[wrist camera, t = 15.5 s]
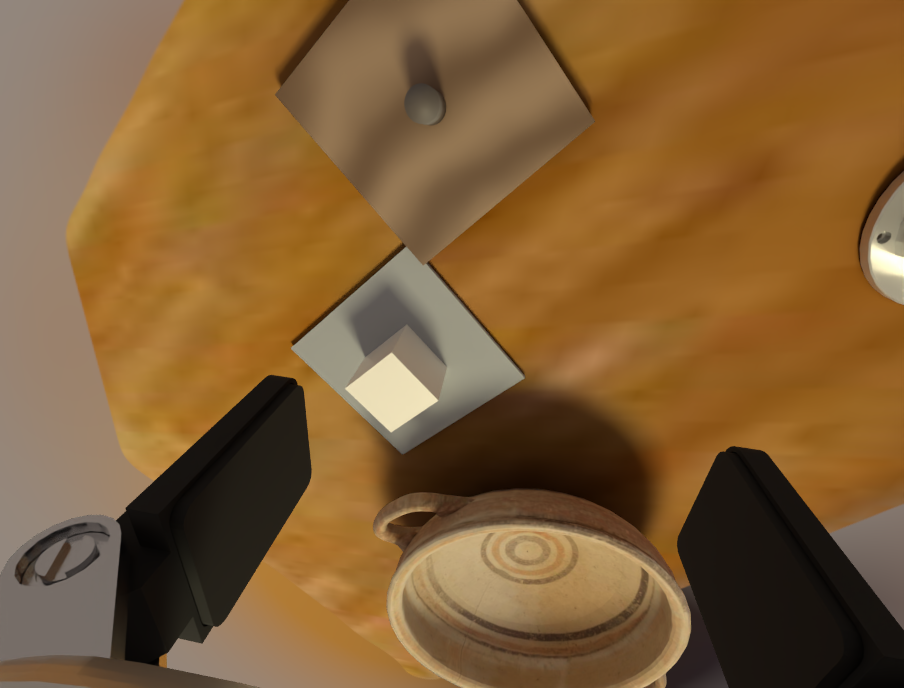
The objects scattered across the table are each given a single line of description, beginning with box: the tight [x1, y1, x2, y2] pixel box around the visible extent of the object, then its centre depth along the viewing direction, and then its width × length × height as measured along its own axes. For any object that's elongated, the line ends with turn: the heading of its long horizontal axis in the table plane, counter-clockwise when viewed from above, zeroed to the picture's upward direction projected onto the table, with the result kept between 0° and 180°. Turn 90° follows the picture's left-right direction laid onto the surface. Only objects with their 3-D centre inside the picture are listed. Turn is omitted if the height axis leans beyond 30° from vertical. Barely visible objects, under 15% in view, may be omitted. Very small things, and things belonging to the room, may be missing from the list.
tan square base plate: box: [275, 0, 595, 266], centre depth 28 cm, size 16×16×5 cm
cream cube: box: [345, 325, 447, 432], centre depth 37 cm, size 6×6×6 cm
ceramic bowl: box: [373, 488, 691, 688], centre depth 44 cm, size 37×29×10 cm
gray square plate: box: [291, 247, 525, 455], centre depth 40 cm, size 16×16×1 cm
